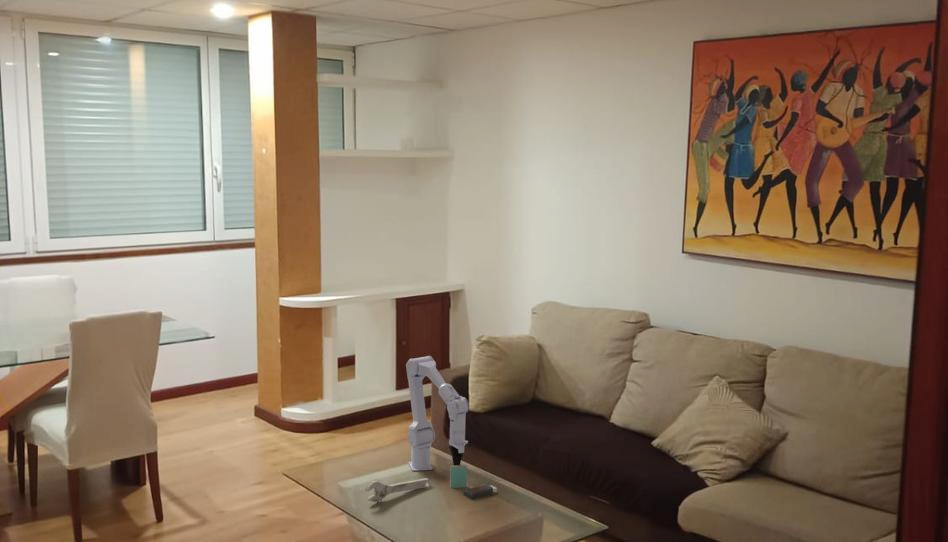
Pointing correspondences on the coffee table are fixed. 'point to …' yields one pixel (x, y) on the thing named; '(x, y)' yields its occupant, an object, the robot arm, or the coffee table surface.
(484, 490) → the usb drive
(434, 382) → the robot arm
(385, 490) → the wrench
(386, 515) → the coffee table surface
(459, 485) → the tile
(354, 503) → the coffee table surface
